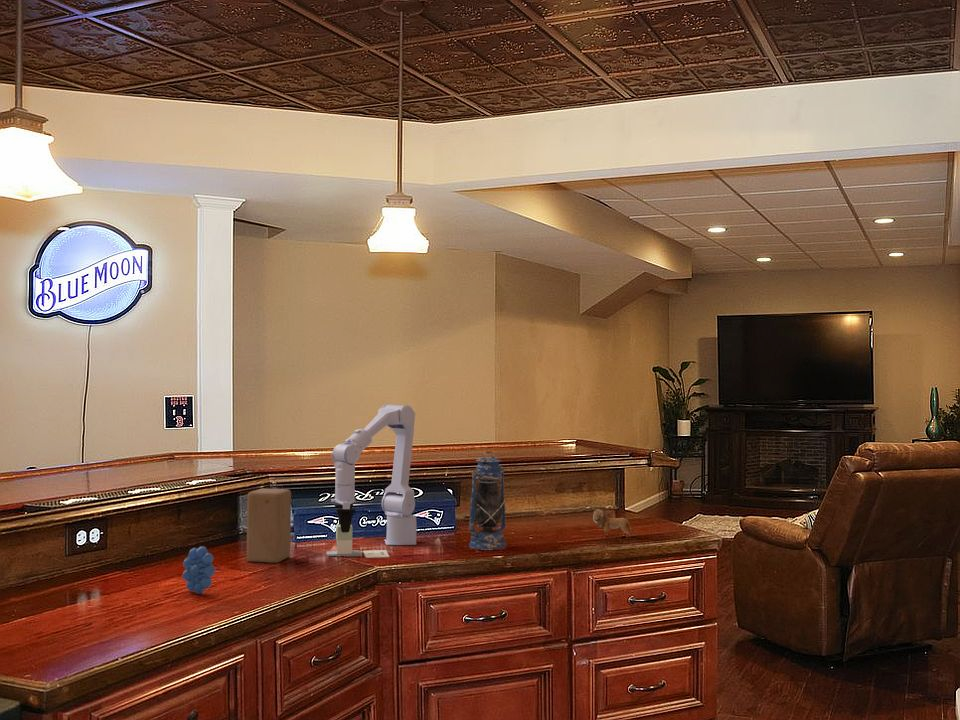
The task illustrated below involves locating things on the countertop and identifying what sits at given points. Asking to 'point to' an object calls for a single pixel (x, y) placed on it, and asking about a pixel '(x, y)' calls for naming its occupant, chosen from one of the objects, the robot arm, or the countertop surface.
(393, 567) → the countertop surface
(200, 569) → the grapes
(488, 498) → the lantern
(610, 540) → the countertop surface
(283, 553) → the wooden block
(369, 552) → the page
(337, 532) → the pale green cube
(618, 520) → the lion figurine
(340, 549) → the brick
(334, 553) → the base brick
